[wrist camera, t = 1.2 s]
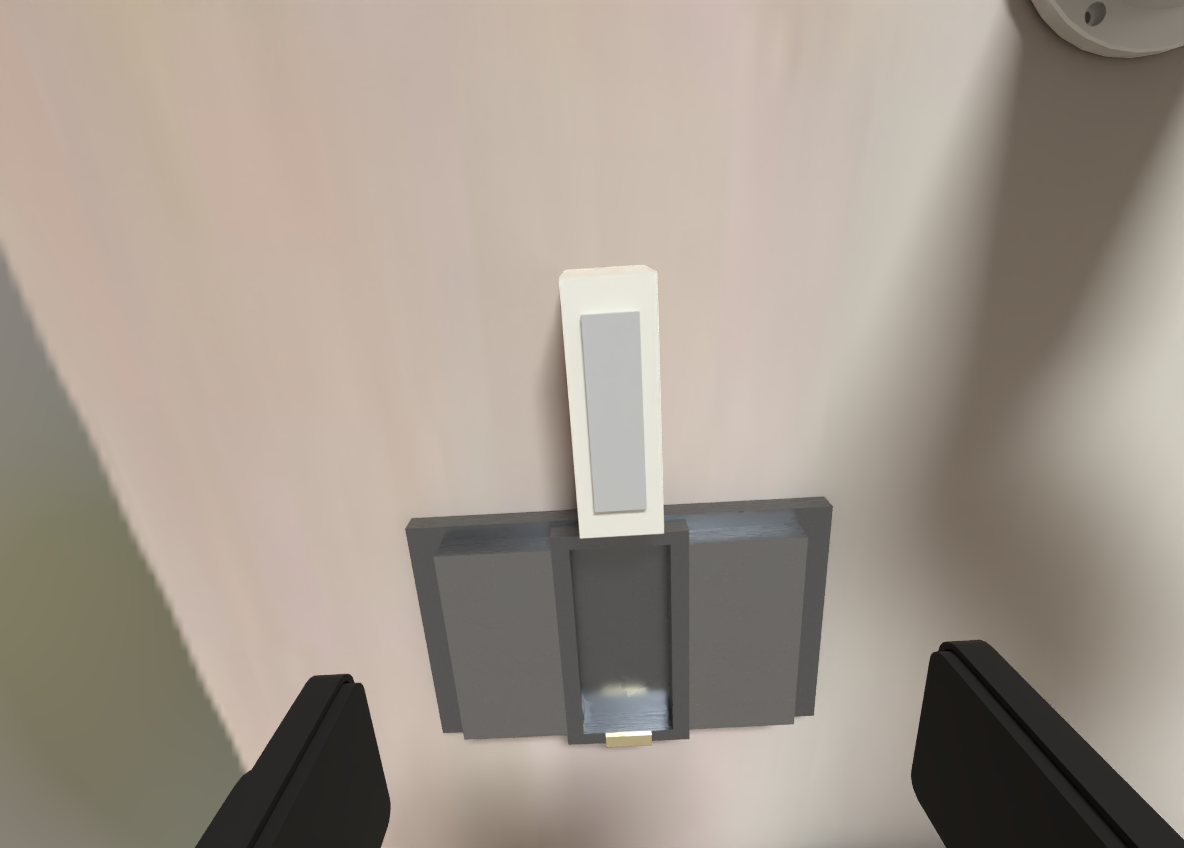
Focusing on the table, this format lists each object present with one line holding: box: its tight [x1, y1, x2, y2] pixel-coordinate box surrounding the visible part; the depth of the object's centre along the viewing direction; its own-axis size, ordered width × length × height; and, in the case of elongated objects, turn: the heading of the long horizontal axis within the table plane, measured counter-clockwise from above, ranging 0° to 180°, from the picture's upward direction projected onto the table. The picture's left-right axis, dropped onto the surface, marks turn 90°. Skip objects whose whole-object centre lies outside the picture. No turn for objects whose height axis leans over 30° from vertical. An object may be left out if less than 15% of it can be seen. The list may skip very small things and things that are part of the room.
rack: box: [405, 497, 833, 747], centre depth 33 cm, size 24×15×3 cm, turn 93°
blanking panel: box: [559, 265, 664, 538], centre depth 27 cm, size 4×12×6 cm, turn 4°
